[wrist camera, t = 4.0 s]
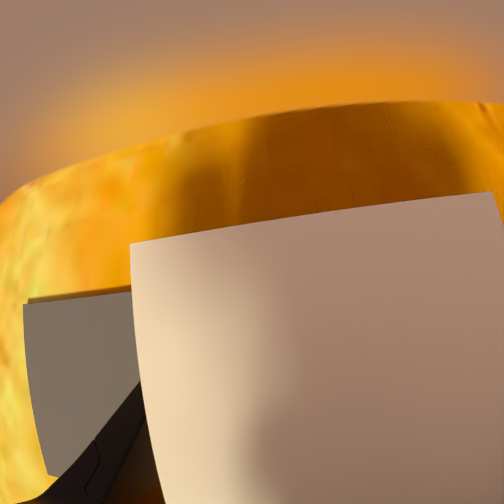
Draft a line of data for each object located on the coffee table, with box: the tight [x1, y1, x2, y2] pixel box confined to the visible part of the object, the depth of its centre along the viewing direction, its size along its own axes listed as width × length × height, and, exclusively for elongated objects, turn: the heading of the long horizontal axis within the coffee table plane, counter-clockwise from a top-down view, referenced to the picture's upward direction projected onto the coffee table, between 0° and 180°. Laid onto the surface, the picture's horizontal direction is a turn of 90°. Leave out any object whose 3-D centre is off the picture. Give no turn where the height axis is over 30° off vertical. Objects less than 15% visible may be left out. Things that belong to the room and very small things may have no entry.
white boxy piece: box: [130, 191, 504, 504], centre depth 10 cm, size 7×7×12 cm
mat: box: [23, 291, 141, 477], centre depth 16 cm, size 12×12×1 cm
